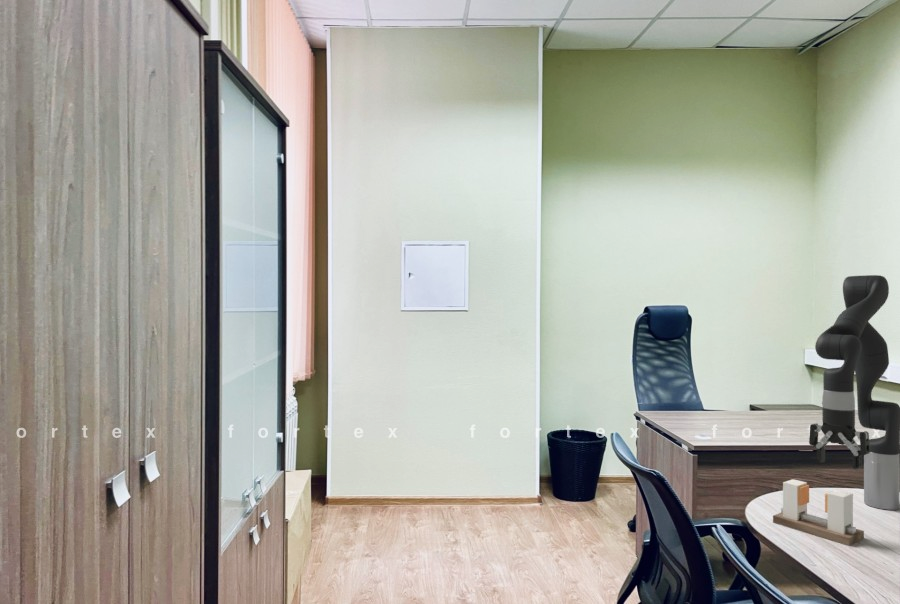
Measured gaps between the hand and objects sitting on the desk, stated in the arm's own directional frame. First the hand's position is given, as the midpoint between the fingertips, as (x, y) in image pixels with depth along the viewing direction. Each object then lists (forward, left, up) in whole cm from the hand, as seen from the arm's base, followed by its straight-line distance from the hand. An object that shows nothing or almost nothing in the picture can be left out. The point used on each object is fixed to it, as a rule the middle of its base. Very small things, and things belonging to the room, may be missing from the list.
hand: (838, 465), depth 164 cm
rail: (0, -6, -20) cm, 20 cm away
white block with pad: (0, 0, -18) cm, 18 cm away
